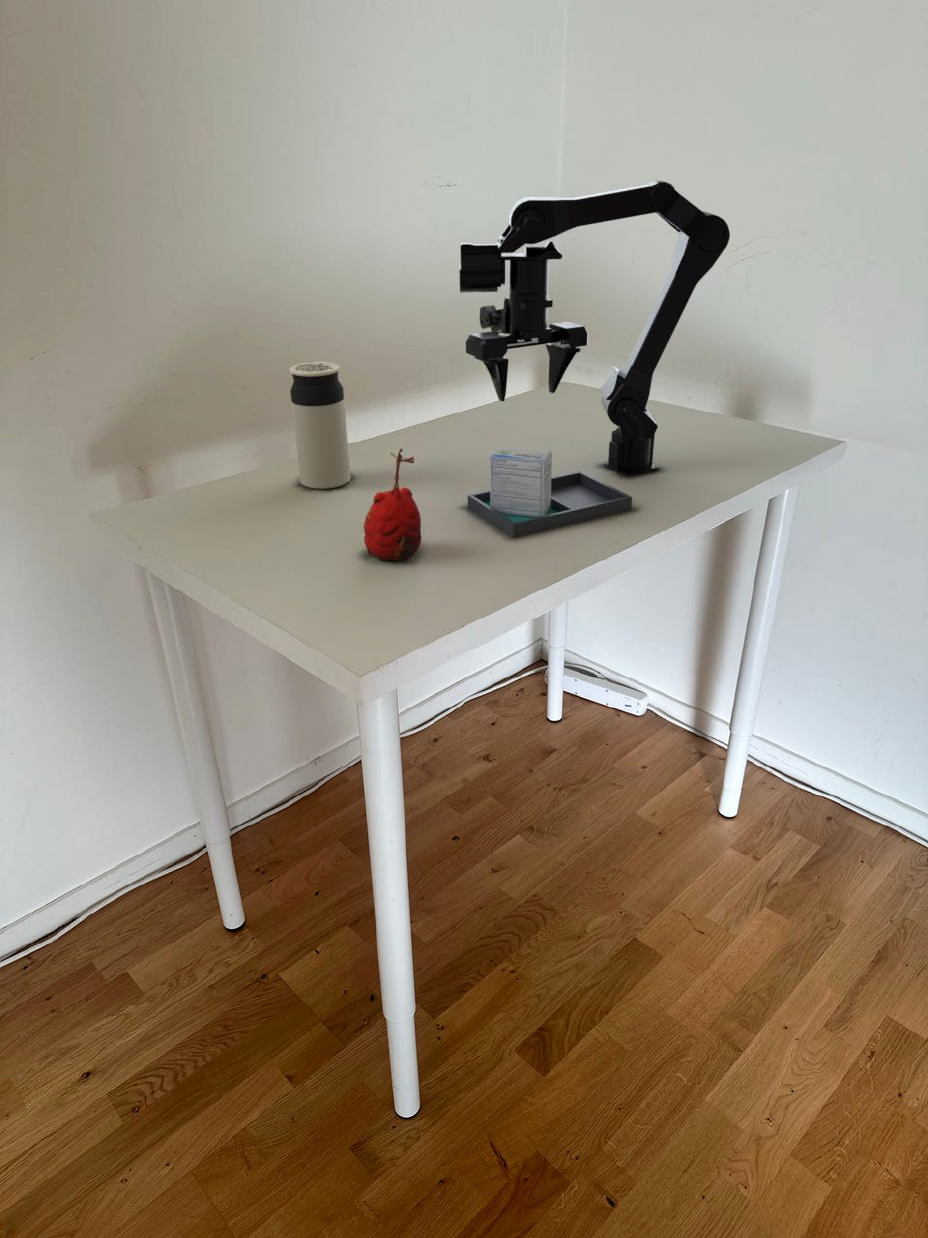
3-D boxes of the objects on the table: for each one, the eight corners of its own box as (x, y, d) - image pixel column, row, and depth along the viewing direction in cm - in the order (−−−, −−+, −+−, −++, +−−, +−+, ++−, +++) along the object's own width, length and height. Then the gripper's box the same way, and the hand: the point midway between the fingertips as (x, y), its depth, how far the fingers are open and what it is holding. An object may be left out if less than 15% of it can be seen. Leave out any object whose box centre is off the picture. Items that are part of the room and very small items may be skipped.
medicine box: (551, 508, 131) (553, 450, 127) (543, 519, 127) (544, 460, 123) (499, 502, 133) (499, 445, 129) (489, 513, 130) (489, 455, 125)
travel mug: (329, 493, 140) (317, 375, 131) (289, 484, 143) (276, 369, 135) (360, 478, 145) (352, 364, 137) (322, 469, 149) (311, 358, 140)
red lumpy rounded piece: (407, 538, 124) (401, 431, 117) (433, 556, 119) (429, 445, 111) (357, 551, 120) (348, 442, 113) (382, 570, 115) (374, 457, 108)
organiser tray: (580, 483, 142) (580, 470, 141) (631, 509, 131) (632, 496, 130) (467, 507, 133) (467, 494, 132) (513, 538, 123) (513, 524, 122)
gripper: (551, 279, 144) (549, 377, 152) (447, 290, 136) (450, 393, 144) (592, 288, 135) (587, 392, 143) (483, 300, 128) (484, 410, 135)
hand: (526, 396), depth 142 cm, fingers open, 9 cm apart
